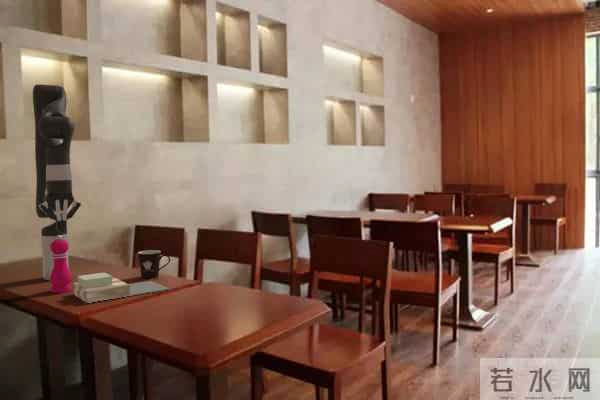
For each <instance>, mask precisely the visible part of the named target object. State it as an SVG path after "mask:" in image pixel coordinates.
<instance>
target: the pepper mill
mask: <svg viewBox="0 0 600 400" xmlns="http://www.w3.org/2000/svg"><path fill="white" fill-rule="evenodd" d="M56 238H57V240H55V241H53V242H52V243H51V245H50V249H51V251H52V252H53V254H52V255H53V257H52V258H54V266H53V270H52V272H51V275H50V280H49V282H50V284H51V285H52V287H51V293H53V294H54V293H55V294H63V293H69V292H70V291H72V285H71V282H72V280H73V275H72V272H71V271H70V267H69V268H68V266H67V261H66V258H67V257H68V258H69V252H68V253H66V252H67V250H68V251H69V249H70V248H69V247H70V245H69V242H67V241H65V240H62V236H61V235H58V236H57V237H56ZM67 254H68V256H67Z"/></svg>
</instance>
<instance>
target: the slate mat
mask: <svg viewBox="0 0 600 400" xmlns="http://www.w3.org/2000/svg"><path fill="white" fill-rule="evenodd" d="M128 284H129V285H130V296H132V297H134V296H133V295H138V296H141V295H140V294H144V295H147V294H146V293H150V294H153V293H152V292H156V293H159V292H158V291H162V292H166V291H165V290H168V291H170V288H169V287H166V286H164V285H162V284H159V283H158V282H156V281H155V282H154V281H153V280H148V281H143V282H142V281H140V282H135V283H128Z"/></svg>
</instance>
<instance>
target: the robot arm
mask: <svg viewBox="0 0 600 400" xmlns="http://www.w3.org/2000/svg"><path fill="white" fill-rule="evenodd" d="M32 89H33V90H32V103H33V104H32V105H33V114H34V115H33V116H34V117H33V118H34V128H35V129H34V135H35V137H34V142H35V143H34V144H35V145H34V149H35V153H34V157H35V158H34V159H35V171H36V175H35V176H36V189H35V190H36V191H35V211H36V215H37V217H38V218H41V219H50V220H53V221H54V222H53V223H51V224H48V225H46V226H43V227H42V228H41V232H40V233H41V251H42V253H41V254H42V272H43V273H42V274H43V276H42V277H43V280H45V281H50V275H51V272H52V270H53V266H54V258H52V257H53V255H52V254H53V252H52V251H51V249H50V245H51V243H52V242H53V241H55V240H57V238H56V237H57V236H58V235H61V236H62V240H65V241H67V242H68V225H67V223H68V222H67V221H68V220H69V219H72V218H73V217H74V215H75V214H76V213H77V211H78V210H79V208H80V207H81V206H82V204H81V202H79V201H76V199H75V197H74V195H73V183H72V181H73V180H72V179H73V176H72V169H71V153H70V152H71V144H72V140H73V137H74V133H75V123H74V121H73V119H72V118H71V117H68V116H67V114H66V110H67V102H68V101H67V92H66V89H65V88H64V87H62V86H60V85H51V84H35V85H34V86H33V88H32ZM59 139H62V142H61V141H60V140H59ZM70 207H71V209H70ZM69 209H70V210H69ZM68 210H69V211H68ZM68 243H69V242H68ZM66 253H68V254H67V256H68V257H67V258H66V261H67V266H68V268H69V269H70V266H69V263H70V262H69V249H68V250H67V252H66Z"/></svg>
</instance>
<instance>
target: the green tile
mask: <svg viewBox="0 0 600 400" xmlns="http://www.w3.org/2000/svg"><path fill="white" fill-rule="evenodd" d="M112 277H113V275H111V274H108V273H107V272H97V273H89V274H85V275H78V276H77V282H78V285H79V286H81V287H82V288H84V289H89V288H96V287H102V286H109V285H112Z"/></svg>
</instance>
